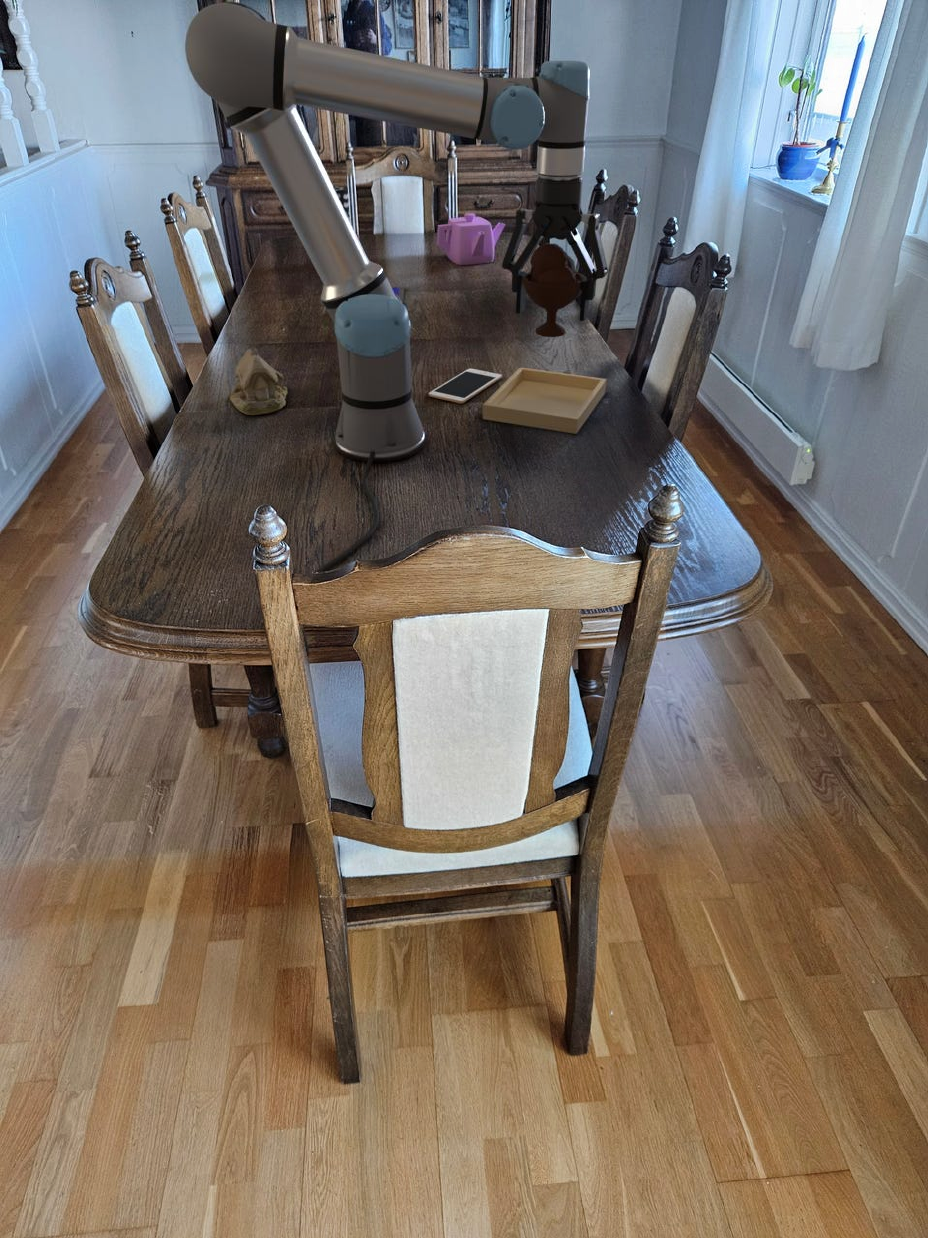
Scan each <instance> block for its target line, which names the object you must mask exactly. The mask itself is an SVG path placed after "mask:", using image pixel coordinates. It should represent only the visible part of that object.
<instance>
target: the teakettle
mask: <svg viewBox="0 0 928 1238" xmlns="http://www.w3.org/2000/svg"><path fill="white" fill-rule="evenodd" d="M505 226H506V224H505V223H504V222H497V224H496V225H495V226H494V227H492V224H491V222H490V221H488V220H487V219H486V218H483V217H481V216H476V214H475V213H474V212H473V213H472V212H468V213H464V214H463V216H459V217H458V216H457V217H452V218H449V219H448V220H447V223H446V224H438V225H437V231H436V233H437V234H436V246H438V247H439V248H441V249H443V250H444V251H445V254H446V256H447V259H449V261H451V262H452V263H454V264H456V265H459V266H468V265H469V266H470V265H482V264H491V263H493V261H494V259H495V246H496V245H497V243H498V240H499V238H500V236H501V234H502V232H503V231H504V228H505Z"/></svg>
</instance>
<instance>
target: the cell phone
mask: <svg viewBox="0 0 928 1238" xmlns="http://www.w3.org/2000/svg"><path fill="white" fill-rule="evenodd" d="M502 378H503V374H500V373H495V372H491V371H485V370H481V369H475V368H471V367H470V368H467V369H465V370H464V371H462V372H460V373H459V374H458V375H456V376H454V377H452V378H451V379H449V380H447V381H446V382H444V383H443V384H441V385H439V386H438V387H436V388H434V389H432V390H431V391H429V392H428V397H430V398H435V399H439V400H443V401H448V402H451V403H456V404H464V403H466V402H467V401H469V400H470V399H472V398H473V397H475V396H476V395H478V394H479V393H481V392H482V391H484V390H485V389H487V388H489V387H490V386H492V385H493V384H495V383H496V382H498V381H499V380H501V379H502Z"/></svg>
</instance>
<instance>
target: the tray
mask: <svg viewBox="0 0 928 1238" xmlns="http://www.w3.org/2000/svg"><path fill="white" fill-rule="evenodd" d="M607 380H608V378H602V377H595V376H586V375H580V374H579V375H578V374H571V373H566V372H565V373H564V372H557V371H550V370H543V369H535V368H530V367H529V368H527V367H521V366H520V367H519V368H517V369H516V371H514V373H513V374H511V376H510V377H508V378H507V380H506V381H505V382H503V384H502V385H501V386H500V387H498V389H497V390H496V391H495V392H494V393H493V394H492V395H491V396H490V397H489V398H487V400H486V401H485V402H484V403H483V404H482V420H487V421H492V422H499V423H503V424H504V423H505V424H511V425H518V426H523V427H524V426H525V427H530V428H537V429H542V430H549V431H555V432H562V433H567V434H568V433H569V434H575V435H576V434H577V435H578V432H579V431H580V430H581V428H582V427H583V425H584V424H585V423H586V421H587V420H588V418H589V417H590V415H591V414H592V413H593V411H594V410H595V408H596V407H597V405H598V404H599V402H601V400H602V398H604V396H605V394H606V390H607V382H608V381H607Z"/></svg>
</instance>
